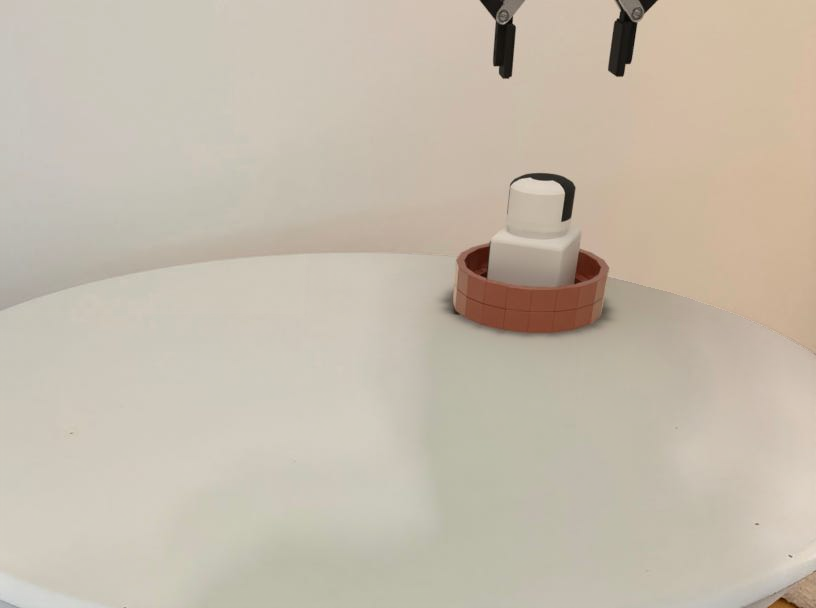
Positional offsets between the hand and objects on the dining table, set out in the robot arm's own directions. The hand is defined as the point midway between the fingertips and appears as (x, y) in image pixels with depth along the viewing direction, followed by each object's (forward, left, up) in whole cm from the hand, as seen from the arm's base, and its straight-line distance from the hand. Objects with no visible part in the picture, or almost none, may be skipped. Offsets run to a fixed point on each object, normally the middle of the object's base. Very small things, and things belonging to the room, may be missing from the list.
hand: (560, 75), depth 86 cm
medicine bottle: (0, 0, -21) cm, 21 cm away
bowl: (0, 0, -21) cm, 21 cm away
